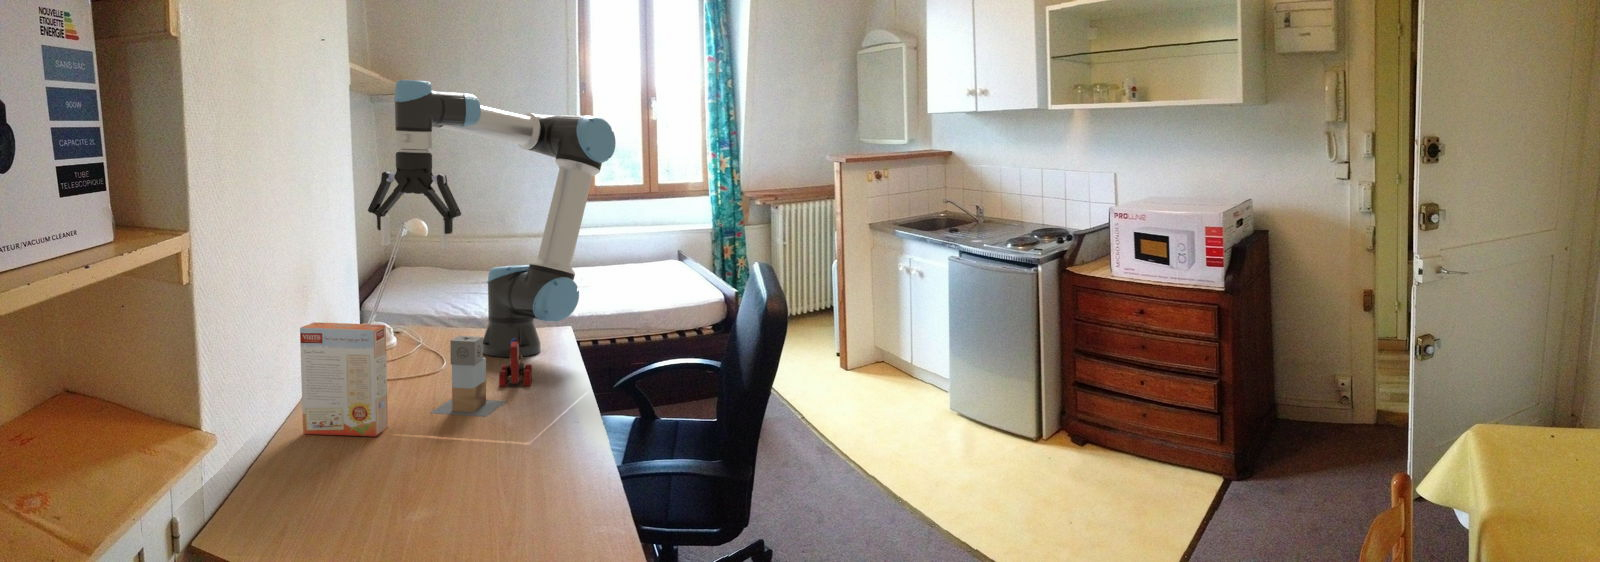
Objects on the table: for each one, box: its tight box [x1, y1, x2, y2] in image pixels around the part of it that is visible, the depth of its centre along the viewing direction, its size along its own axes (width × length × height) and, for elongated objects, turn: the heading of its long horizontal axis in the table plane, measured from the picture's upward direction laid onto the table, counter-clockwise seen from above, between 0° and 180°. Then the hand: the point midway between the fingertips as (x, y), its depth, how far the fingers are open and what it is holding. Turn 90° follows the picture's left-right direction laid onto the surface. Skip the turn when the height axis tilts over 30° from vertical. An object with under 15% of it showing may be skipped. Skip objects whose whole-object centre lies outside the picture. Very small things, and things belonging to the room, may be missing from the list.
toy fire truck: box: [498, 338, 533, 388], centre depth 228 cm, size 7×12×10 cm, turn 13°
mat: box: [429, 398, 508, 418], centre depth 207 cm, size 12×12×1 cm
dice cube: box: [450, 335, 484, 366], centre depth 204 cm, size 5×5×5 cm
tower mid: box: [451, 357, 487, 389], centre depth 206 cm, size 7×4×5 cm, turn 176°
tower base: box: [451, 380, 487, 412], centre depth 207 cm, size 7×4×5 cm, turn 176°
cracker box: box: [299, 322, 389, 438], centre depth 187 cm, size 14×6×21 cm, turn 90°
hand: (415, 246), depth 219 cm, fingers open, 13 cm apart
